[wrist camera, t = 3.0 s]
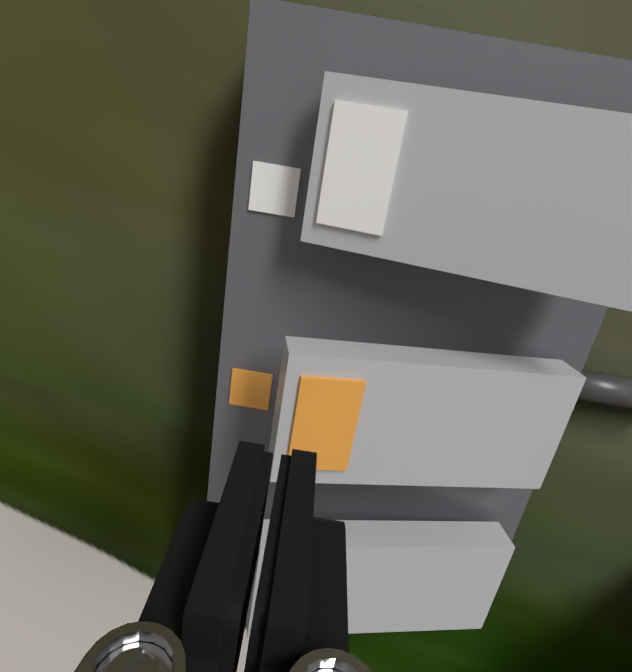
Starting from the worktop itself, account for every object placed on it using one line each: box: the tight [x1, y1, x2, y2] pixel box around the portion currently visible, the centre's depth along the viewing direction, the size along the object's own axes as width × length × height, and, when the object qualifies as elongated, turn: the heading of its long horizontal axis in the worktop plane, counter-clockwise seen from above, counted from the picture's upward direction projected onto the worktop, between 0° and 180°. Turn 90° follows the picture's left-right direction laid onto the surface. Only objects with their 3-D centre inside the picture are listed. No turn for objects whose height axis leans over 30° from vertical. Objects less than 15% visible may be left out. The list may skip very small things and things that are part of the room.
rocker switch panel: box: [207, 0, 632, 541], centre depth 18 cm, size 18×21×4 cm
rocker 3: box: [247, 519, 515, 637], centre depth 17 cm, size 9×4×1 cm, turn 82°
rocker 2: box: [269, 336, 586, 489], centre depth 14 cm, size 9×4×1 cm, turn 82°
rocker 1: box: [300, 71, 632, 311], centre depth 12 cm, size 9×4×1 cm, turn 79°
